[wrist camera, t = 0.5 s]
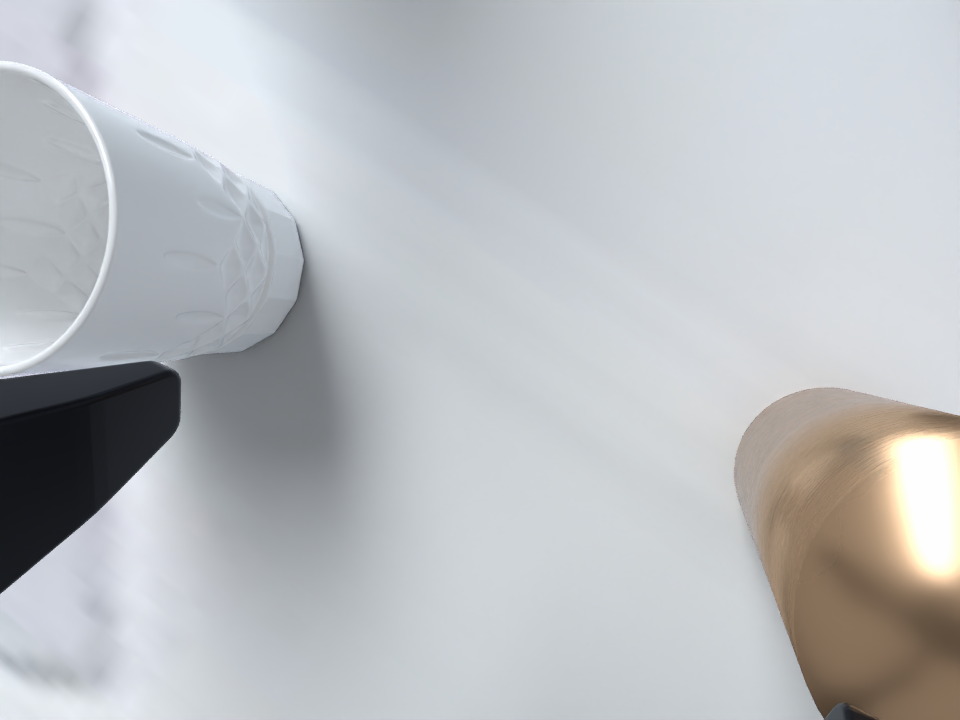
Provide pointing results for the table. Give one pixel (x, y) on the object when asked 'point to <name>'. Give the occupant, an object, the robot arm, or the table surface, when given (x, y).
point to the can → (861, 546)
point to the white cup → (127, 238)
